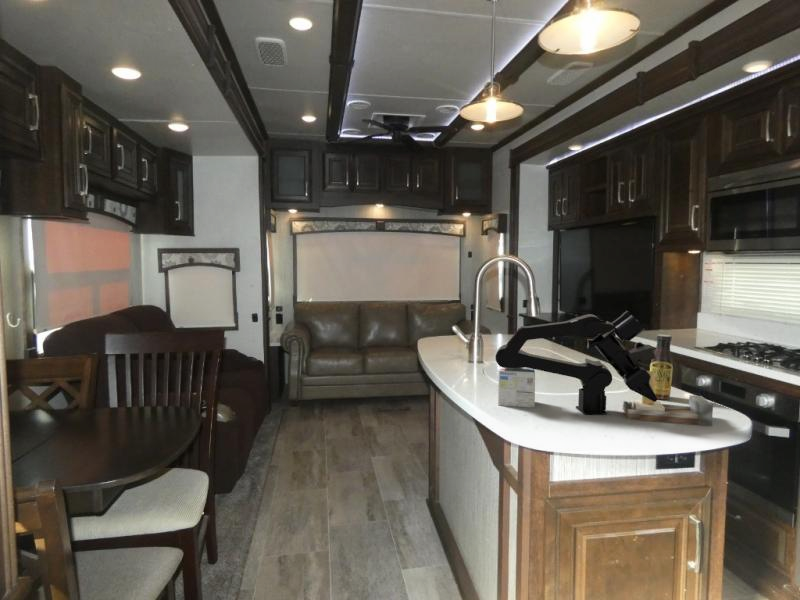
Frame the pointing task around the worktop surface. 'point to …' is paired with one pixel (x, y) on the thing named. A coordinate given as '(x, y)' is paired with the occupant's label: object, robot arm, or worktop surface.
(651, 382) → the rail carriage
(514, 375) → the light bulb box
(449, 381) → the worktop surface
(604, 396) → the robot arm
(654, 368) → the sauce bottle
